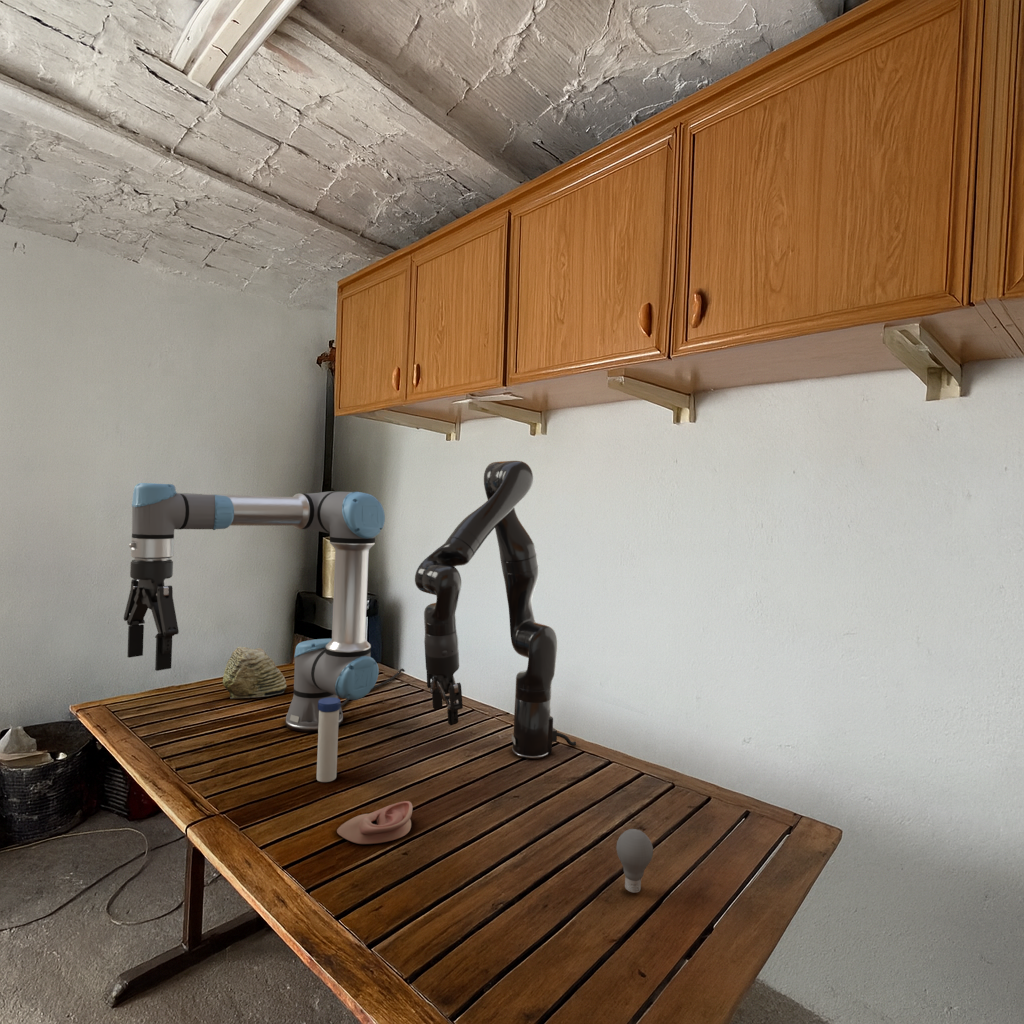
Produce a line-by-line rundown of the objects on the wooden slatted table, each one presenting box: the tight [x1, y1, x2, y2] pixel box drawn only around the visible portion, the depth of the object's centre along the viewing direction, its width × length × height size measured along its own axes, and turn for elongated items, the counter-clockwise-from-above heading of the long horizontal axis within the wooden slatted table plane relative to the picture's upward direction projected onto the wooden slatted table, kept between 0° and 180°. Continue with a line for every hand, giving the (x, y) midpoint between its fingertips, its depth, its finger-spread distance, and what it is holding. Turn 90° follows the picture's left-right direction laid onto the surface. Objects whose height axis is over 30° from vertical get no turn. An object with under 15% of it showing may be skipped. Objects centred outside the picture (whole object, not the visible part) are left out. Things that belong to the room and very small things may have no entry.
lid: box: [318, 697, 342, 712], centre depth 142 cm, size 5×5×2 cm
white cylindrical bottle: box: [316, 710, 339, 783], centre depth 143 cm, size 4×4×17 cm
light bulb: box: [615, 828, 654, 894], centre depth 106 cm, size 6×6×10 cm
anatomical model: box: [336, 800, 414, 845], centre depth 121 cm, size 13×4×12 cm
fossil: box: [222, 646, 288, 699], centre depth 198 cm, size 9×18×15 cm, turn 132°
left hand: (148, 662), depth 129 cm, fingers open, 13 cm apart
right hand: (445, 715), depth 145 cm, fingers open, 8 cm apart
